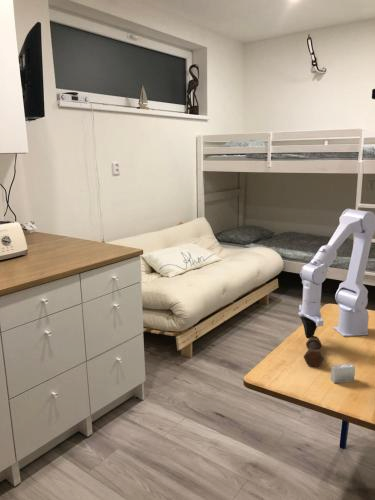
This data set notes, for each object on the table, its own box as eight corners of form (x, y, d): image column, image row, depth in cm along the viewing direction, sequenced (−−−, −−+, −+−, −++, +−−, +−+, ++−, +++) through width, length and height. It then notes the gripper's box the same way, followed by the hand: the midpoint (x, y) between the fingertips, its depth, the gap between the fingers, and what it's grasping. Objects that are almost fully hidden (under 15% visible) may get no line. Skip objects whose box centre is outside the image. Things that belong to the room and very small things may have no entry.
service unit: (350, 377, 118) (351, 363, 116) (354, 381, 115) (355, 367, 114) (330, 379, 117) (331, 364, 116) (333, 383, 115) (335, 368, 114)
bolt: (315, 350, 138) (315, 370, 124) (302, 341, 138) (300, 361, 124) (325, 337, 136) (326, 356, 122) (312, 328, 136) (311, 347, 122)
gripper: (291, 293, 141) (289, 329, 144) (309, 308, 127) (306, 348, 130) (311, 292, 142) (308, 328, 145) (330, 307, 128) (327, 346, 131)
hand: (309, 337), depth 138 cm, fingers closed
